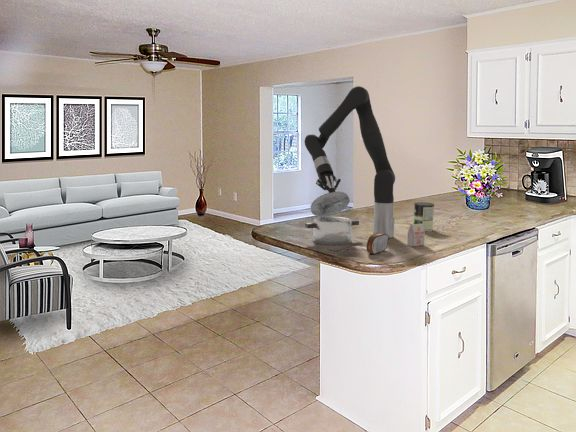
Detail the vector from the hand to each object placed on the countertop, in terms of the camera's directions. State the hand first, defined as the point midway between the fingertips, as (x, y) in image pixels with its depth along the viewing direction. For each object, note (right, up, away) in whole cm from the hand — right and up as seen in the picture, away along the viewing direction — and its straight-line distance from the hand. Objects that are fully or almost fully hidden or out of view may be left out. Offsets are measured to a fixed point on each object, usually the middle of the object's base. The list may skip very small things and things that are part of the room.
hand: (333, 196), depth 240 cm
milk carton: (+37, -23, -4) cm, 44 cm away
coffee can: (+50, -17, +33) cm, 63 cm away
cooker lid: (-1, -4, +4) cm, 6 cm away
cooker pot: (0, -21, +4) cm, 22 cm away
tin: (+17, -25, -18) cm, 36 cm away
